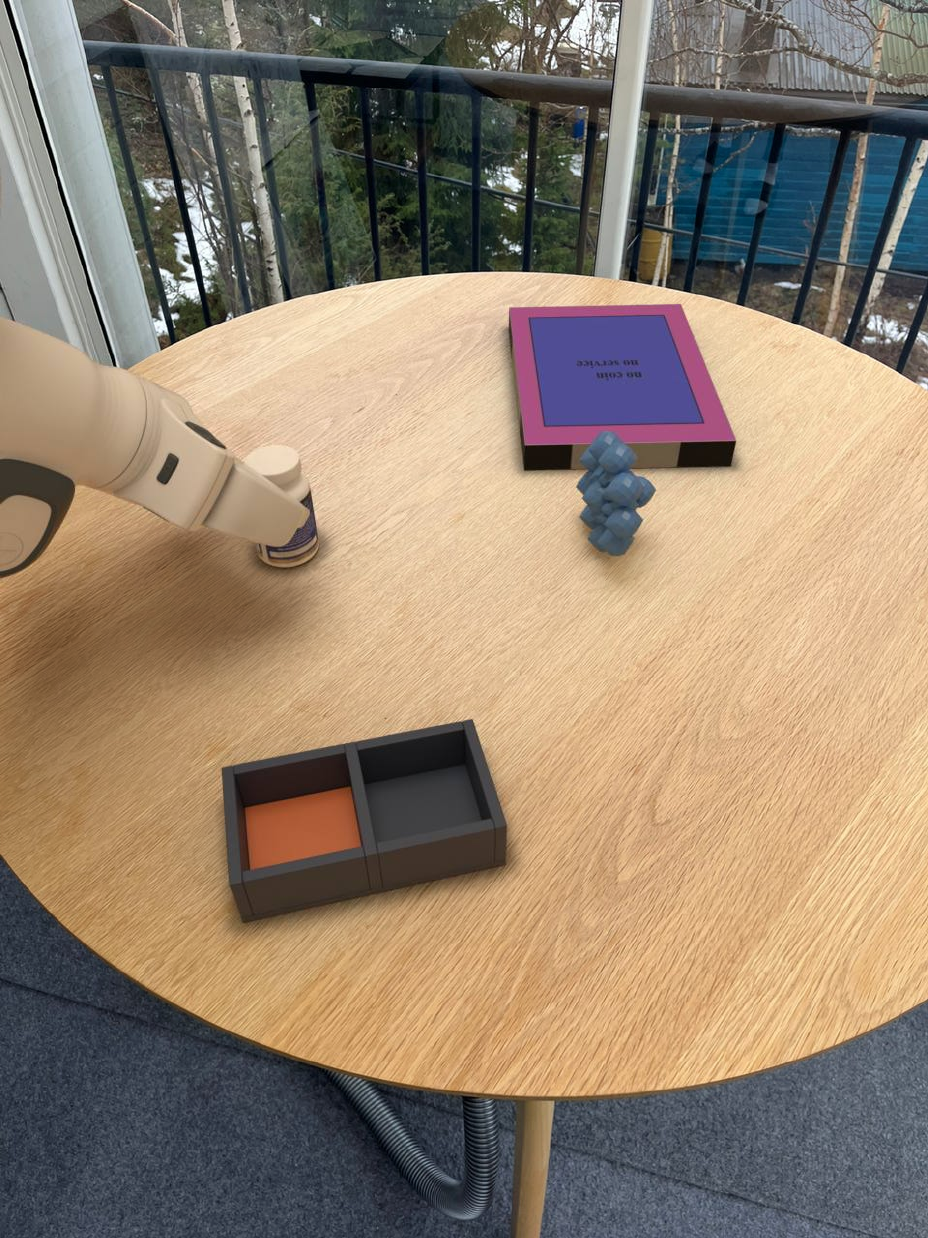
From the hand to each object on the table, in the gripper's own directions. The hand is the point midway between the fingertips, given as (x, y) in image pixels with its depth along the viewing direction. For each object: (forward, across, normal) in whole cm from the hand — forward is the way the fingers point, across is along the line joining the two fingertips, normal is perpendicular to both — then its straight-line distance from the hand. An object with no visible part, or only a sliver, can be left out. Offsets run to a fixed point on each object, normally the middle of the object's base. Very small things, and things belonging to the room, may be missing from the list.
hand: (269, 492), depth 81 cm
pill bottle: (+6, 0, -4) cm, 7 cm away
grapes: (+21, +20, +11) cm, 31 cm away
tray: (-5, +29, -14) cm, 32 cm away
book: (+36, +2, +25) cm, 44 cm away
